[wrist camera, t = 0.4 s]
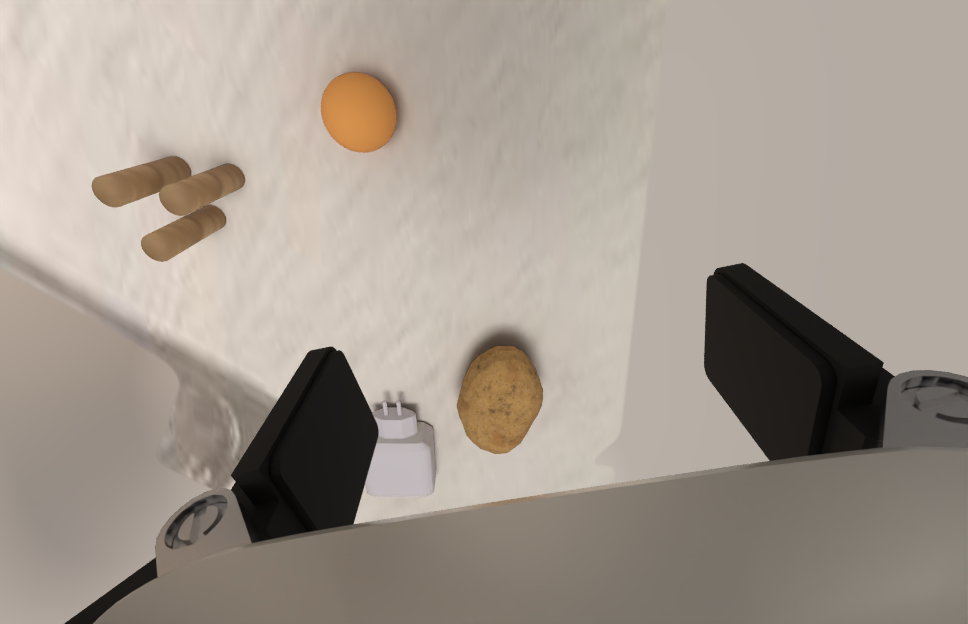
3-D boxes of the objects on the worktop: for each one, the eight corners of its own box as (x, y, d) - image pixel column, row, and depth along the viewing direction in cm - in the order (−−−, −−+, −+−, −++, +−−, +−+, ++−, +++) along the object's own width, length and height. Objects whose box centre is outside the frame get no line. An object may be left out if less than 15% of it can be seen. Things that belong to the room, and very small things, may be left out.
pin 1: (158, 162, 40) (84, 183, 32) (178, 152, 39) (108, 171, 32) (177, 186, 41) (109, 211, 33) (196, 176, 40) (132, 200, 33)
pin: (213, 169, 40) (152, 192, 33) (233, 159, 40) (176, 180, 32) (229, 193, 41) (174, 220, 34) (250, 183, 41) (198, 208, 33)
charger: (431, 388, 54) (436, 468, 61) (358, 388, 54) (373, 468, 61) (426, 414, 50) (433, 496, 57) (348, 414, 50) (365, 496, 57)
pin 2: (195, 210, 42) (134, 240, 35) (215, 201, 42) (157, 230, 34) (212, 232, 43) (156, 265, 36) (231, 223, 43) (178, 255, 35)
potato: (549, 330, 49) (560, 373, 42) (526, 418, 56) (533, 467, 49) (467, 321, 48) (464, 362, 42) (454, 411, 55) (450, 460, 49)
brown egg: (320, 90, 37) (293, 93, 31) (381, 59, 36) (363, 57, 30) (356, 156, 39) (337, 170, 34) (413, 130, 38) (402, 140, 33)
